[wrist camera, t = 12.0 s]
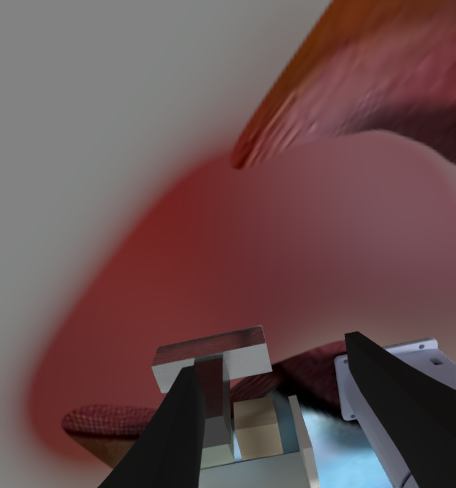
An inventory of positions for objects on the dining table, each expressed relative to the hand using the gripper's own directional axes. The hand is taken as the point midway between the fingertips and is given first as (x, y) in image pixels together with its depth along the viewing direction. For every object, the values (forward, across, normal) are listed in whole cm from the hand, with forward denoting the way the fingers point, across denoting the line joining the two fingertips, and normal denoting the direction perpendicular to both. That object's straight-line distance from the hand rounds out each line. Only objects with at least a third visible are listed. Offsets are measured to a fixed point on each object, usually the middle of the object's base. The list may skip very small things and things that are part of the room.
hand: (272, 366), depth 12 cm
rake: (+11, +5, +7) cm, 14 cm away
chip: (+11, +3, +16) cm, 19 cm away
